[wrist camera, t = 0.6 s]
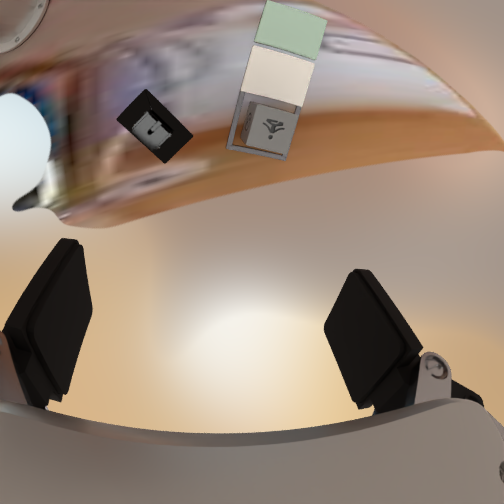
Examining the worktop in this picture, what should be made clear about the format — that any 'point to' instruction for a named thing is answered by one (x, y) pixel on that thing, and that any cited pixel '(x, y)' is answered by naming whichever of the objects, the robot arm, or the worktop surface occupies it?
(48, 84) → the worktop surface
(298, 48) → the game board
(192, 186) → the worktop surface
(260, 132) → the dice cube
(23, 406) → the robot arm
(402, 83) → the worktop surface
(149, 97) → the black angular block
